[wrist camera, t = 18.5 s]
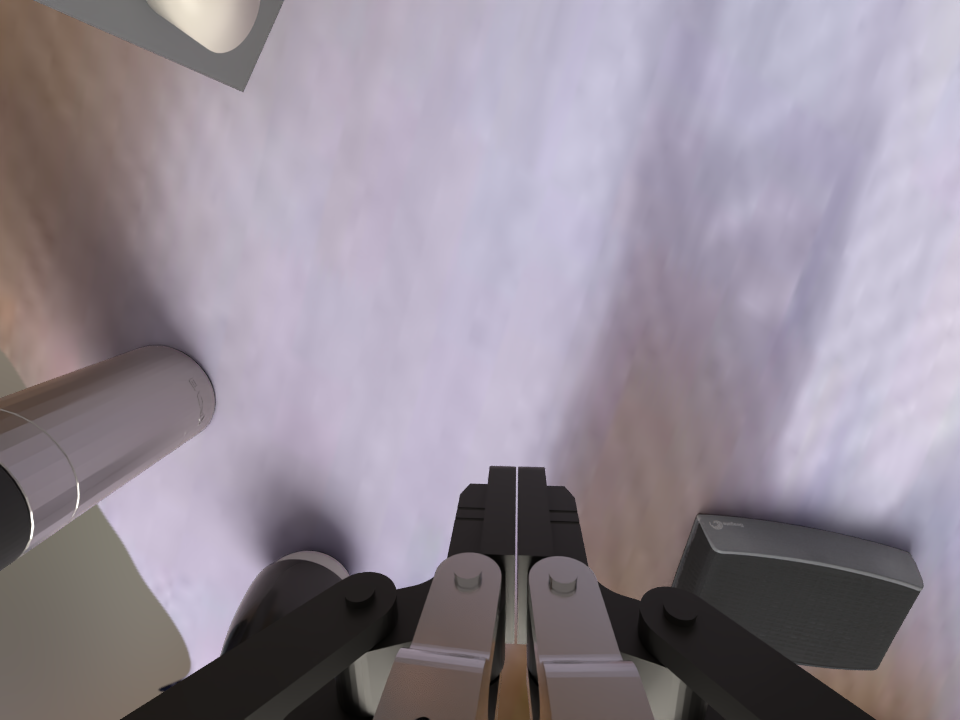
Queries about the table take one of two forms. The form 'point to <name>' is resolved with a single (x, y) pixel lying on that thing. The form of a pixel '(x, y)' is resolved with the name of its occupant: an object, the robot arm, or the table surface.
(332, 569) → the dark grey tapered speaker
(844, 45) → the table surface
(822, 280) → the table surface
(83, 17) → the knob mount
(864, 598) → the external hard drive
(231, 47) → the cream knob
